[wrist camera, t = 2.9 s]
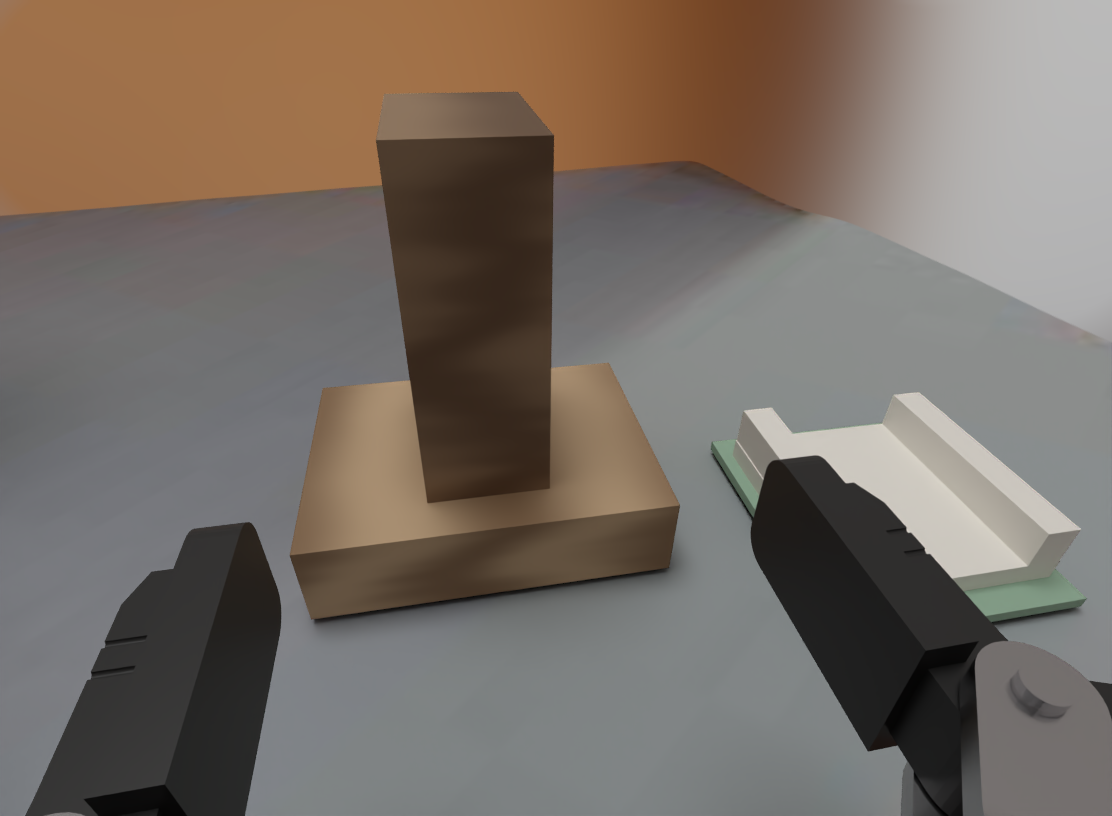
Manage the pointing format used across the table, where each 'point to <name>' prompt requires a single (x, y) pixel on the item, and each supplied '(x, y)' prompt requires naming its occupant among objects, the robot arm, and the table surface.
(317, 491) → the flat wooden block
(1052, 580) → the mat
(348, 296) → the table surface
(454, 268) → the tall wooden pillar
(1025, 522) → the rack
